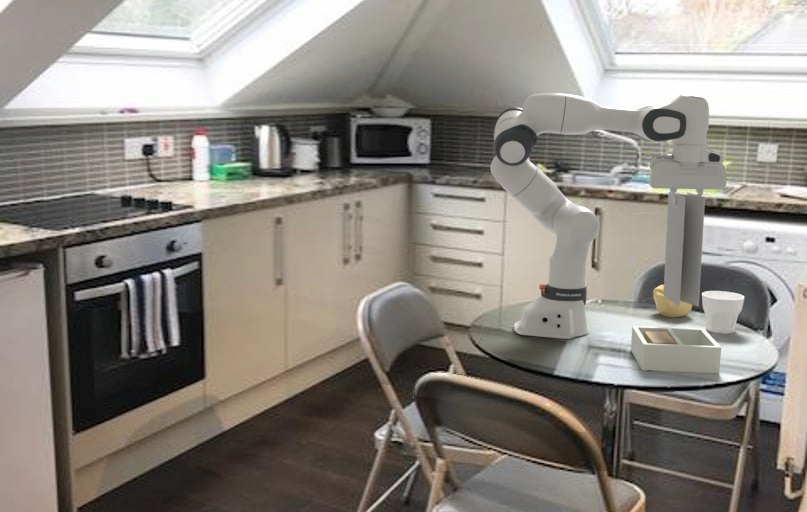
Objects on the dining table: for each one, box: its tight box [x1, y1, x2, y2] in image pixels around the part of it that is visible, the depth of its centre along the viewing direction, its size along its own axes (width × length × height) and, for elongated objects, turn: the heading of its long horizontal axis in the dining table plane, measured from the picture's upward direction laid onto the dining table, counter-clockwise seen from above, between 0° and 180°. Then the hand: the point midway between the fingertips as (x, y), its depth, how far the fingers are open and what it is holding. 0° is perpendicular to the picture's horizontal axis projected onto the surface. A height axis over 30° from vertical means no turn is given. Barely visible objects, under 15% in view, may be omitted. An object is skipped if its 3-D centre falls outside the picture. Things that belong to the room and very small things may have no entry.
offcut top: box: [644, 331, 676, 344], centre depth 234 cm, size 6×11×4 cm, turn 176°
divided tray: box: [630, 325, 722, 374], centre depth 234 cm, size 20×18×7 cm
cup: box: [701, 290, 745, 335], centre depth 266 cm, size 12×12×11 cm
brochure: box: [663, 191, 706, 307], centre depth 241 cm, size 14×6×30 cm, turn 0°
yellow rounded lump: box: [652, 284, 693, 318], centre depth 283 cm, size 11×12×11 cm
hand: (685, 205), depth 239 cm, fingers closed on brochure, 3 cm apart
